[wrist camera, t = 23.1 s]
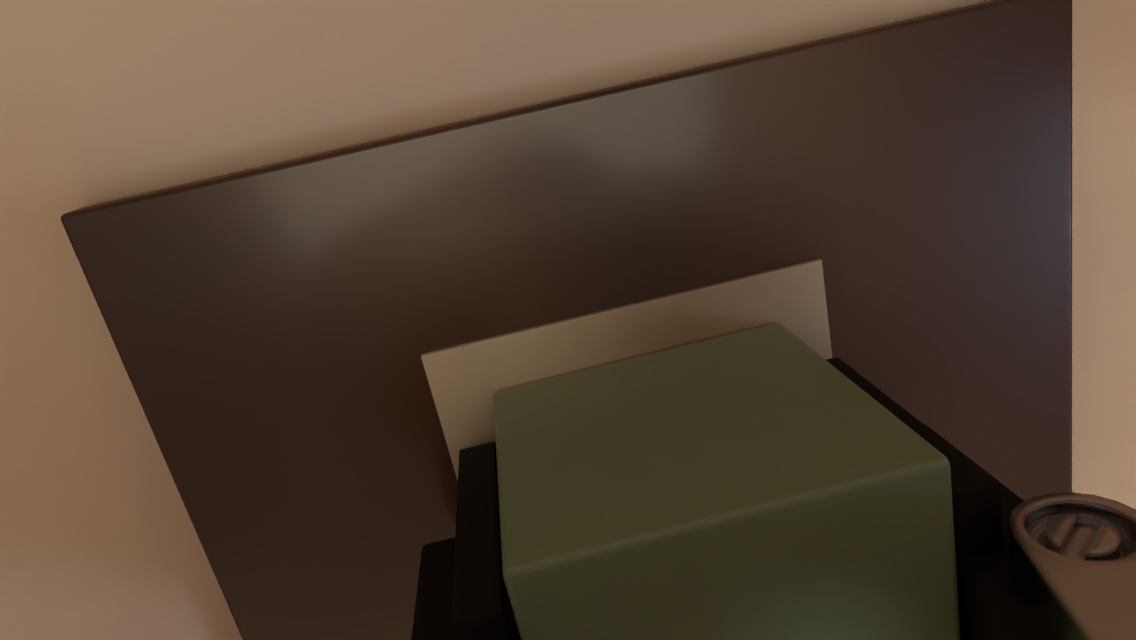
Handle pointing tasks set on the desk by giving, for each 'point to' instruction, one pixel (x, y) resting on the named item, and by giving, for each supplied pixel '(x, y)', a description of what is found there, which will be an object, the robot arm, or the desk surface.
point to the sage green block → (721, 502)
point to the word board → (594, 285)
